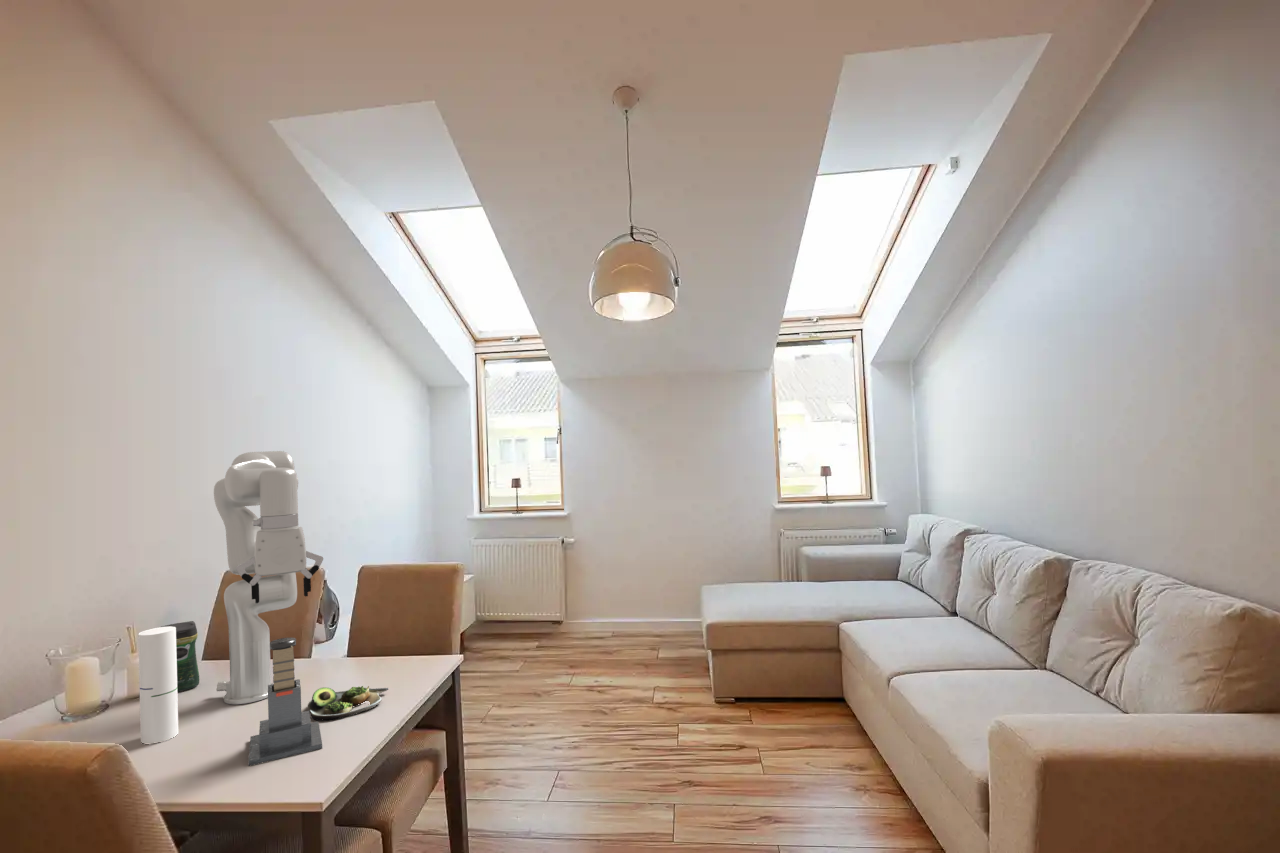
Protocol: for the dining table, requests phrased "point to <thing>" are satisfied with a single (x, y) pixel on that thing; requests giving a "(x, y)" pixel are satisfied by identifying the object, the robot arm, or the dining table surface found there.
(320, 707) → the salad plate
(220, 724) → the dining table surface
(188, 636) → the coffee jar
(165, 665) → the cylindrical container
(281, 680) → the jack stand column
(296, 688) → the stand
